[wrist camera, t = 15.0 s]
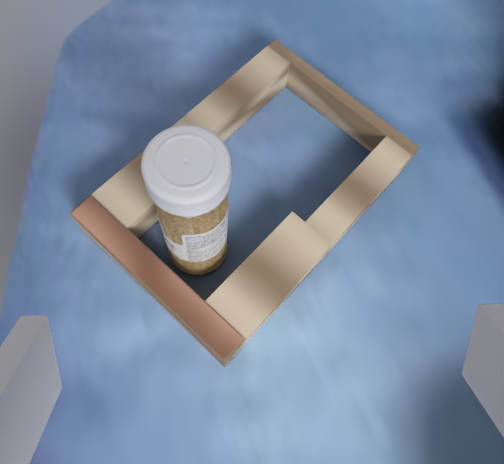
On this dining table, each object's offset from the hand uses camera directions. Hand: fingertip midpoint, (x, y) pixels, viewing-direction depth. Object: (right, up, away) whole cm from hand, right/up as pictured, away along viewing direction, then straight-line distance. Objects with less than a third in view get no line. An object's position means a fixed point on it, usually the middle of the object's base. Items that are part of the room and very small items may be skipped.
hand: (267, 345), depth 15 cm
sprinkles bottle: (-5, +2, +22) cm, 22 cm away
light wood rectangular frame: (-1, +6, +23) cm, 24 cm away
